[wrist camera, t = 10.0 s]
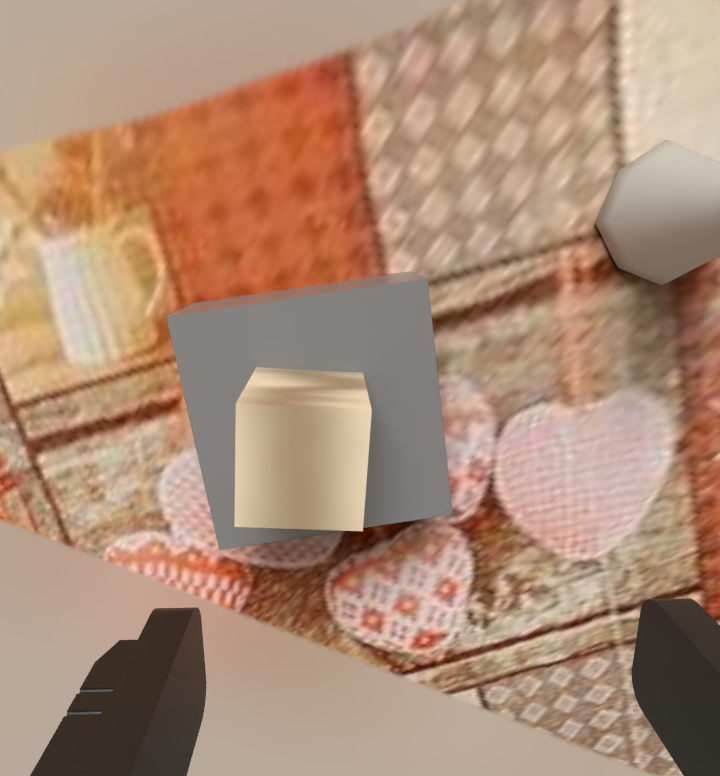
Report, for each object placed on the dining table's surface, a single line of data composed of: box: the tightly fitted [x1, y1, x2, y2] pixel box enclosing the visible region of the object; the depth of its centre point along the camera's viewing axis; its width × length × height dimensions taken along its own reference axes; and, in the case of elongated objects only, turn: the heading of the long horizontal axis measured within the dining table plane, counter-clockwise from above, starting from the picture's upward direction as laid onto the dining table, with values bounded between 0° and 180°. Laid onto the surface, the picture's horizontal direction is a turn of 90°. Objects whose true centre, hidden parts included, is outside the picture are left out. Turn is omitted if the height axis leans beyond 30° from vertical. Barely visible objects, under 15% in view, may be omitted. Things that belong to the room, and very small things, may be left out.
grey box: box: [166, 272, 452, 550], centre depth 30 cm, size 12×12×6 cm
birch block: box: [234, 367, 372, 531], centre depth 25 cm, size 5×5×6 cm
